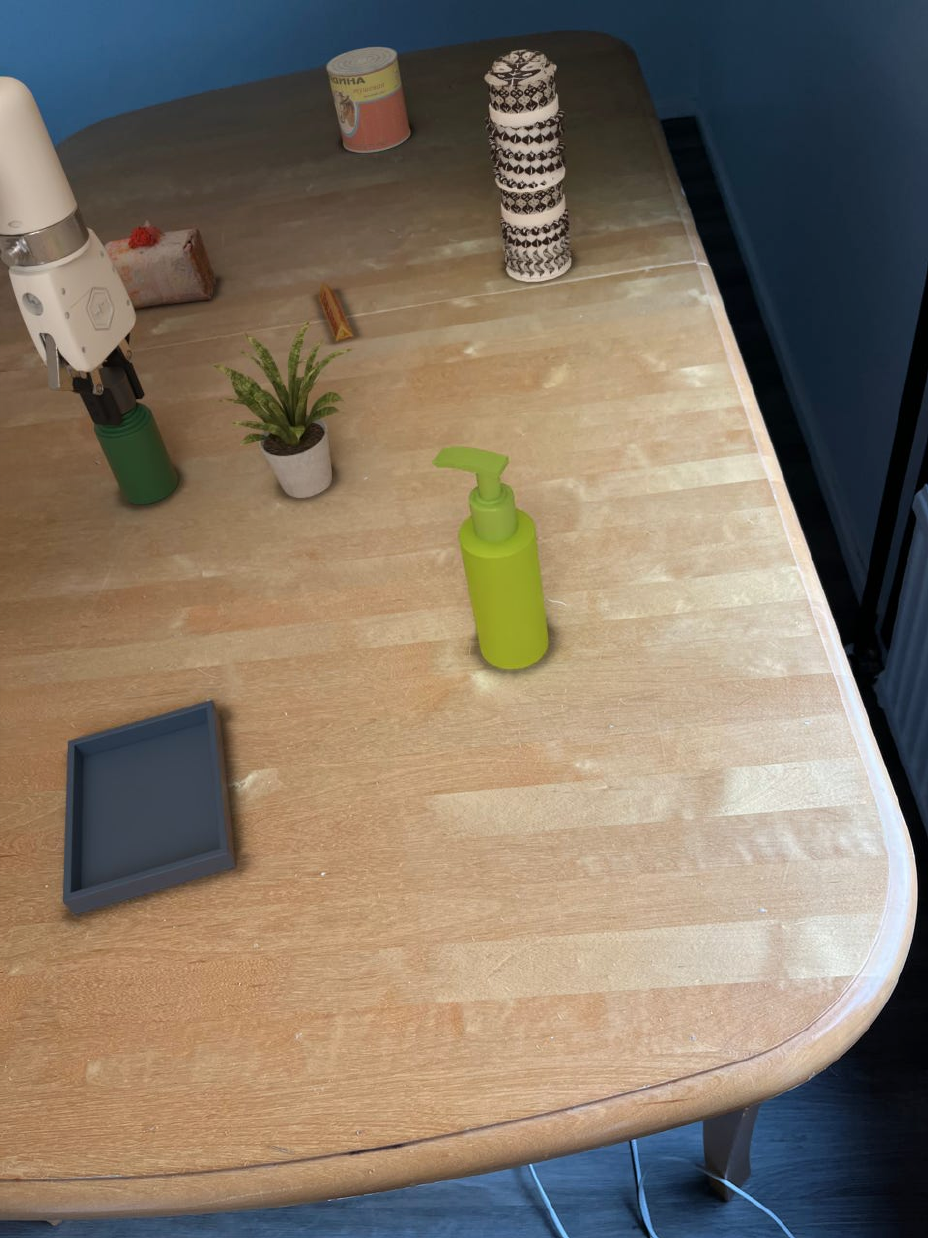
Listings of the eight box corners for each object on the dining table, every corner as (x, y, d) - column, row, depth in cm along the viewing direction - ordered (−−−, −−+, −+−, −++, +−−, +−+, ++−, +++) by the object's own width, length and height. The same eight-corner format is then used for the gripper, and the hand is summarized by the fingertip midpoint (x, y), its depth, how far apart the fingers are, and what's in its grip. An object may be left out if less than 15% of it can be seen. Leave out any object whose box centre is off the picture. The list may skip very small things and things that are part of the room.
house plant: (378, 425, 112) (345, 289, 100) (393, 503, 103) (358, 363, 91) (251, 453, 112) (203, 320, 100) (254, 534, 102) (201, 397, 91)
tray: (237, 869, 76) (228, 852, 74) (75, 917, 75) (62, 902, 73) (221, 716, 86) (212, 699, 85) (79, 757, 85) (67, 740, 84)
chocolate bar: (335, 343, 125) (330, 327, 124) (317, 299, 134) (313, 283, 132) (355, 337, 126) (351, 321, 124) (336, 294, 134) (332, 278, 132)
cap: (123, 419, 100) (111, 390, 98) (88, 416, 102) (75, 387, 99) (144, 395, 103) (132, 367, 101) (109, 392, 104) (97, 364, 102)
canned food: (329, 144, 169) (312, 66, 161) (381, 119, 174) (366, 42, 165) (372, 158, 163) (355, 78, 154) (424, 131, 167) (411, 52, 159)
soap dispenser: (487, 610, 90) (454, 425, 76) (559, 629, 88) (539, 441, 73) (458, 658, 87) (417, 474, 73) (532, 678, 84) (505, 492, 70)
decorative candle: (522, 293, 127) (500, 80, 109) (491, 264, 134) (465, 58, 116) (587, 269, 129) (575, 56, 111) (553, 242, 135) (537, 36, 117)
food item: (114, 317, 138) (84, 249, 131) (128, 288, 144) (100, 220, 137) (210, 305, 137) (186, 235, 130) (221, 275, 142) (198, 207, 135)
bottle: (111, 495, 109) (63, 392, 100) (150, 464, 113) (107, 361, 103) (151, 510, 107) (105, 405, 97) (189, 477, 110) (149, 373, 101)
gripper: (26, 284, 83) (111, 463, 96) (125, 192, 94) (189, 365, 107) (-48, 282, 85) (44, 458, 98) (57, 193, 96) (128, 362, 109)
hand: (119, 408), depth 103 cm, fingers closed on cap, 3 cm apart
